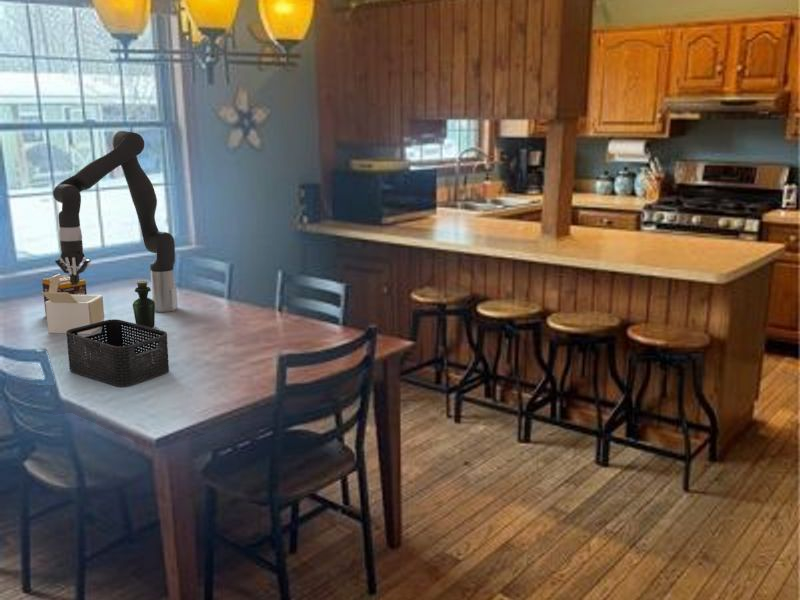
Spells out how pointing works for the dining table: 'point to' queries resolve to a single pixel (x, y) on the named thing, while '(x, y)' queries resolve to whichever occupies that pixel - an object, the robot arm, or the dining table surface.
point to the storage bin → (118, 353)
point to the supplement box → (65, 287)
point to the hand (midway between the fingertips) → (75, 284)
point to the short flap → (54, 283)
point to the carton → (75, 314)
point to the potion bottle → (144, 306)
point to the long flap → (59, 297)
